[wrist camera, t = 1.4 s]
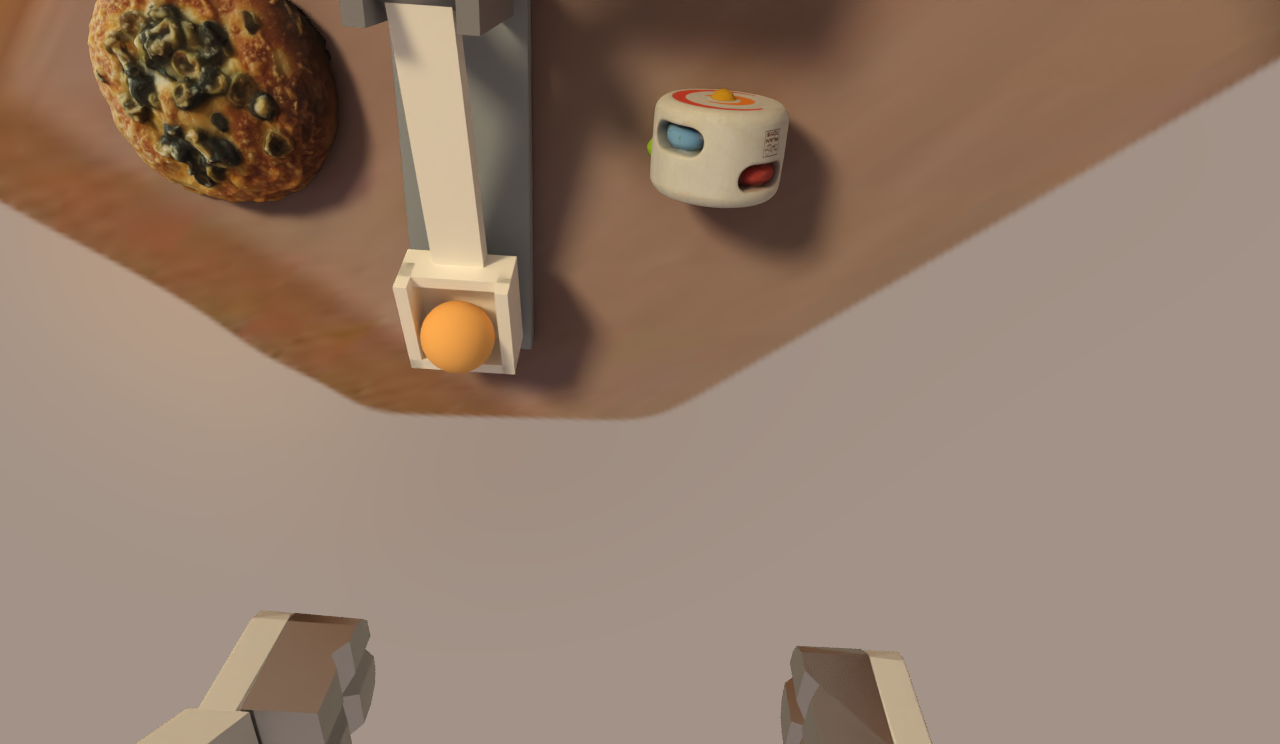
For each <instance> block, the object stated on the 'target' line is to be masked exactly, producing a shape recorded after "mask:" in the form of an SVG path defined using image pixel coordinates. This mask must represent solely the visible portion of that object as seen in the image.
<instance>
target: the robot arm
mask: <svg viewBox="0 0 1280 744" xmlns="http://www.w3.org/2000/svg"><path fill="white" fill-rule="evenodd" d="M369 638H370V632H369V627H368V622H367V620H364V619H355V618H344V617H333V616H322V615H311V614H300V613H286V612H272V611H260V612H259V613H258V614H257V615H256V616H254V617H253V618H252V619H251V620H250V622H249V623H248V625H247V627H246V629H245V630H244V632H243V634H242V635H241V637H240V639H239V640H238V642H237V644H236V645H235V647H234V649H233V650H232V652H231V654H230V656H229V657H228V659H227V661H226V662H225V664H224V666H223V667H222V669H221V671H220V672H219V674H218V676H217V677H216V679H215V681H214V682H213V684H212V686H211V688H210V689H209V691H208V693H207V694H206V696H205V698H204V699H203V701H202V703H201V704H200V706H199V708H187V709H185V710H184V711H183V712H181V713H179V714H178V715H177V716H175V717H174V718H172V719H171V720H169V721H168V722H166V723H165V724H164V725H162V726H161V727H159V728H158V729H156V730H155V731H154V732H152V733H151V734H149V735H148V736H146V737H145V738H143V739H142V740H141V741H139V742H138V743H136V744H352V741H351V736H350V735H351V734H352V733H353V732H354V731H355V730H357V729H358V728H359V727H360V726H361V725H363V724H364V722H365V719H366V717H367V714H368V711H369V708H370V705H371V701H372V696H373V691H374V685H375V662H374V657H373V656H372V655H371V654H370V653H369V652H368V651H367V650H366V649H365V648H366V645H367V643H368V641H369ZM790 665H791V671H792V678H791V679H790V680H788V681H787V682H786V683H785V685H784V690H783V695H782V705H781V726H782V727H781V728H782V737H783V744H932V741H931V738H930V735H929V733H928V729H927V726H926V723H925V720H924V718H923V715H922V712H921V709H920V706H919V703H918V700H917V697H916V694H915V691H914V688H913V685H912V683H911V679H910V676H909V673H908V671H907V667H906V665H905V662H904V659H903V657H902V656H901V655H900V654H899V653H898V652H887V651H872V650H861V649H846V648H828V647H827V648H826V647H807V646H796V648H795V649H794V651H793V653H792V657H791V661H790Z"/></svg>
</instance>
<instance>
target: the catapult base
mask: <svg viewBox="0 0 1280 744" xmlns="http://www.w3.org/2000/svg"><path fill="white" fill-rule="evenodd" d="M339 3H340V11H341V19H342V26H344V27H358V28H367V27H370V26H372V25H375V24H378V23H381V22H384V21H387V20H388V19H387V13H386V8H385V6H382V5H381V4H380V3H379V1H378V0H339ZM455 3H456V22H457V35H462V38H463V47H464V56H465V64H466V73H467V82H468V90H469V99H470V108H471V116H472V125H473V134H474V142H475V151H476V160H477V168H478V177H479V186H480V194H481V203H482V212H483V220H484V229H485V238H486V246H487V254H488V255H503V256H517V267H518V279H519V291H520V304H521V316H522V329H523V339H522V344H521V348H520V349H528V350H531V348H532V345H533V342H534V315H533V198H532V82H531V0H455ZM389 31H390V29H389ZM390 42H391V52H392V63H393V74H394V84H395V95H396V105H397V116H398V126H399V137H400V148H401V158H402V169H403V179H404V190H405V200H406V211H407V222H408V232H409V243H410V249H414V250H429V251H430V248H429V242H428V237H427V231H426V226H425V221H424V215H423V210H422V204H421V199H420V193H419V188H418V182H417V177H416V171H415V166H414V161H413V155H412V150H411V144H410V139H409V133H408V128H407V122H406V117H405V111H404V106H403V100H402V95H401V90H400V84H399V79H398V73H397V68H396V62H395V57H394V51H393V46H392V40H391V35H390Z"/></svg>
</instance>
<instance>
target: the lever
mask: <svg viewBox="0 0 1280 744" xmlns="http://www.w3.org/2000/svg"><path fill="white" fill-rule="evenodd" d="M378 1H379V3H380V4H381V5H382V6H385V8H386V13H387V19H388V24H389V29H390V35H391V40H392V46H393V51H394V57H395V62H396V68H397V73H398V79H399V84H400V90H401V95H402V100H403V106H404V111H405V117H406V122H407V128H408V133H409V139H410V144H411V150H412V155H413V161H414V166H415V171H416V177H417V182H418V188H419V193H420V199H421V204H422V210H423V215H424V221H425V226H426V231H427V237H428V242H429V248H430V251H429V250H414V249H408V250H407V253H406V255H405V258H404V260H403V263H402V265H401V267H400V270H399V272H398V275H397V277H396V280H395V282H394V285H393V291H394V295H395V300H396V304H397V308H398V312H399V316H400V321H401V325H402V329H403V333H404V337H405V342H406V346H407V350H408V354H409V358H410V363H411V367H412V368H424V369H439V370H442V369H440V368H438V367H436V366H435V365H434V364H433V363H431V361H430V360H429V359H428V358H427V357H426V355H425V353H424V351H423V349H422V346H421V340H420V334H421V328H422V324H423V322H424V320H425V318H426V317H427V315H428V314H429V313H430V312H431V311H432V310H433V309H434V308H435V307H437V306H438V305H440V304H442V303H445V302H449V301H455V300H459V301H466V302H469V303H472V304H474V305H476V306H478V307H479V308H481V309H482V310H483V311H484V312H485V313H486V314H487V315H488V317H489V318H490V320H491V322H492V324H493V327H494V332H495V343H494V347H493V350H492V352H491V354H490V356H489V358H488V359H487V360H486V361H485V362H484V363H483V364H482V365H481V366H480V367H478V368H476V369H474V370H472V371H469V372H484V373H499V374H515V372H516V367H517V363H518V358H519V353H520V348H521V344H522V339H523V329H522V316H521V304H520V291H519V279H518V267H517V256H503V255H488V254H487V246H486V238H485V229H484V220H483V212H482V203H481V194H480V186H479V177H478V168H477V160H476V151H475V142H474V134H473V125H472V116H471V108H470V99H469V90H468V82H467V73H466V64H465V56H464V47H463V38H462V35H457V22H456V3H455V0H378Z"/></svg>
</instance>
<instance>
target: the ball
mask: <svg viewBox="0 0 1280 744" xmlns="http://www.w3.org/2000/svg"><path fill="white" fill-rule="evenodd" d="M420 340H421V346H422V349H423V351H424V353H425V355H426V357H427V358H428V359H429V360H430V361H431V363H433V364H434V365H435V366H436V367H438V368H440V369H442V370H444V371H447V372H451V373H465V372H469V371H472V370H474V369H476V368H478V367H480V366H481V365H482V364H483V363H484V362H485V361H486V360H487V359H488V358H489V356H490V354H491V352H492V350H493V347H494V343H495V332H494V327H493V324H492V322H491V320H490V318H489V317H488V315H487V314H486V313H485V312H484V311H483V310H482V309H481V308H479V307H478V306H476V305H474V304H472V303H469V302H466V301H459V300H455V301H449V302H445V303H442V304H440V305H438V306H437V307H435V308H434V309H433V310H432V311H431V312H430V313H429V314H428V315H427V317H426V318H425V320H424V322H423V324H422V328H421V334H420Z"/></svg>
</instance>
